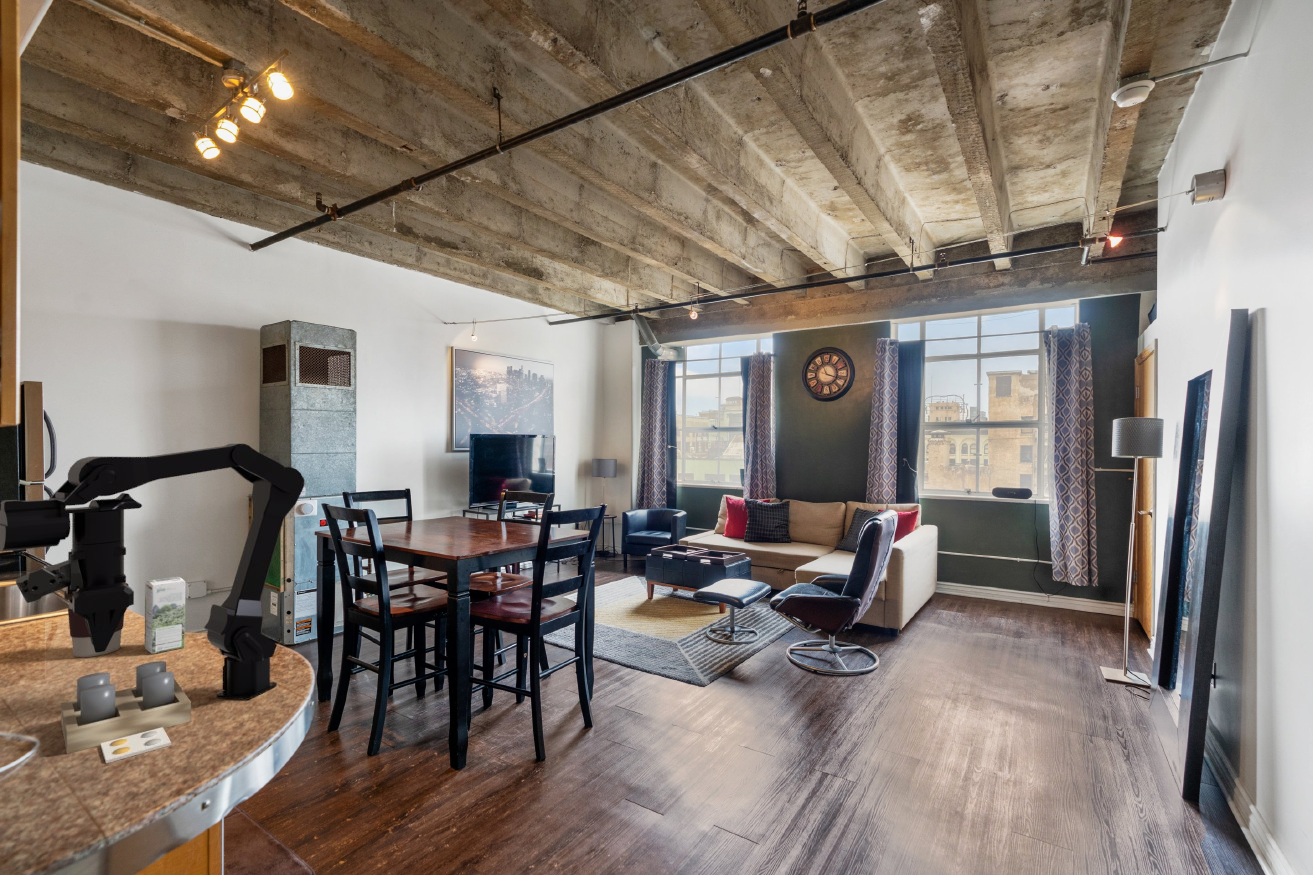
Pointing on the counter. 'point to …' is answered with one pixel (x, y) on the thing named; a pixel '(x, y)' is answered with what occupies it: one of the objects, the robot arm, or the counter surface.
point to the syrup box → (164, 614)
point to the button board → (122, 719)
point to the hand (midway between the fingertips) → (98, 647)
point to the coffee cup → (82, 637)
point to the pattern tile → (134, 744)
